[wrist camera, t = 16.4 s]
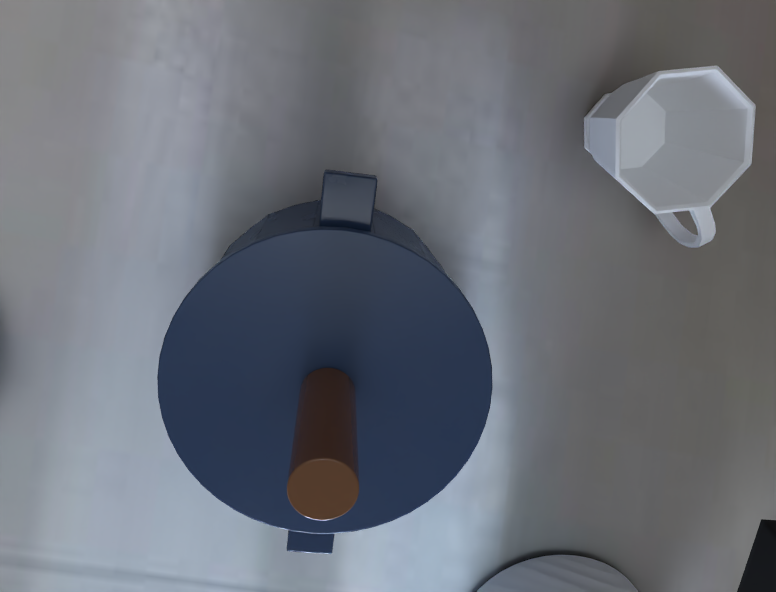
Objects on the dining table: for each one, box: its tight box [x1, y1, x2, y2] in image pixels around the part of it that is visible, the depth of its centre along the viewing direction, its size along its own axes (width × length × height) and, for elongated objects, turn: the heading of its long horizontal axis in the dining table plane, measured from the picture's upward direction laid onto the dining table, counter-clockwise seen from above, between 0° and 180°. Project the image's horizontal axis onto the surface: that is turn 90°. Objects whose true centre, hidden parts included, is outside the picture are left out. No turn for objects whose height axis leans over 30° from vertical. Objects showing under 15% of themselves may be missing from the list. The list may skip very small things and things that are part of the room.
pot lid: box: [158, 226, 492, 534], centre depth 29 cm, size 16×16×9 cm
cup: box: [584, 66, 756, 248], centre depth 36 cm, size 7×10×8 cm
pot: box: [220, 170, 445, 554], centre depth 37 cm, size 15×20×10 cm
